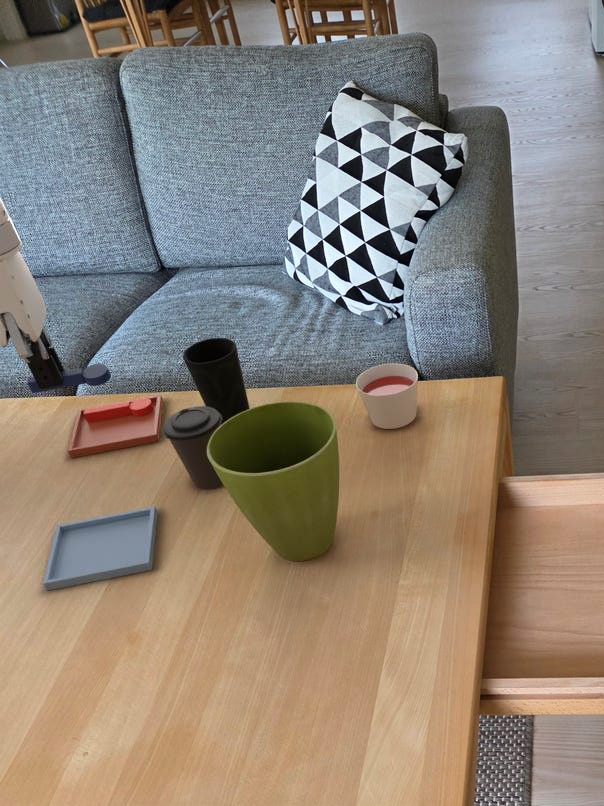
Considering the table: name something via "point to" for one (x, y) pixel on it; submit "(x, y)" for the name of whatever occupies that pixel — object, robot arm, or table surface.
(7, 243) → the robot arm
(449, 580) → the table surface
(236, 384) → the cup
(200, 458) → the coffee cup
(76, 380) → the blue spoon
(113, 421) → the red tray
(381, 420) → the candle
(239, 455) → the flower pot
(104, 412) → the red spoon
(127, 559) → the blue tray
